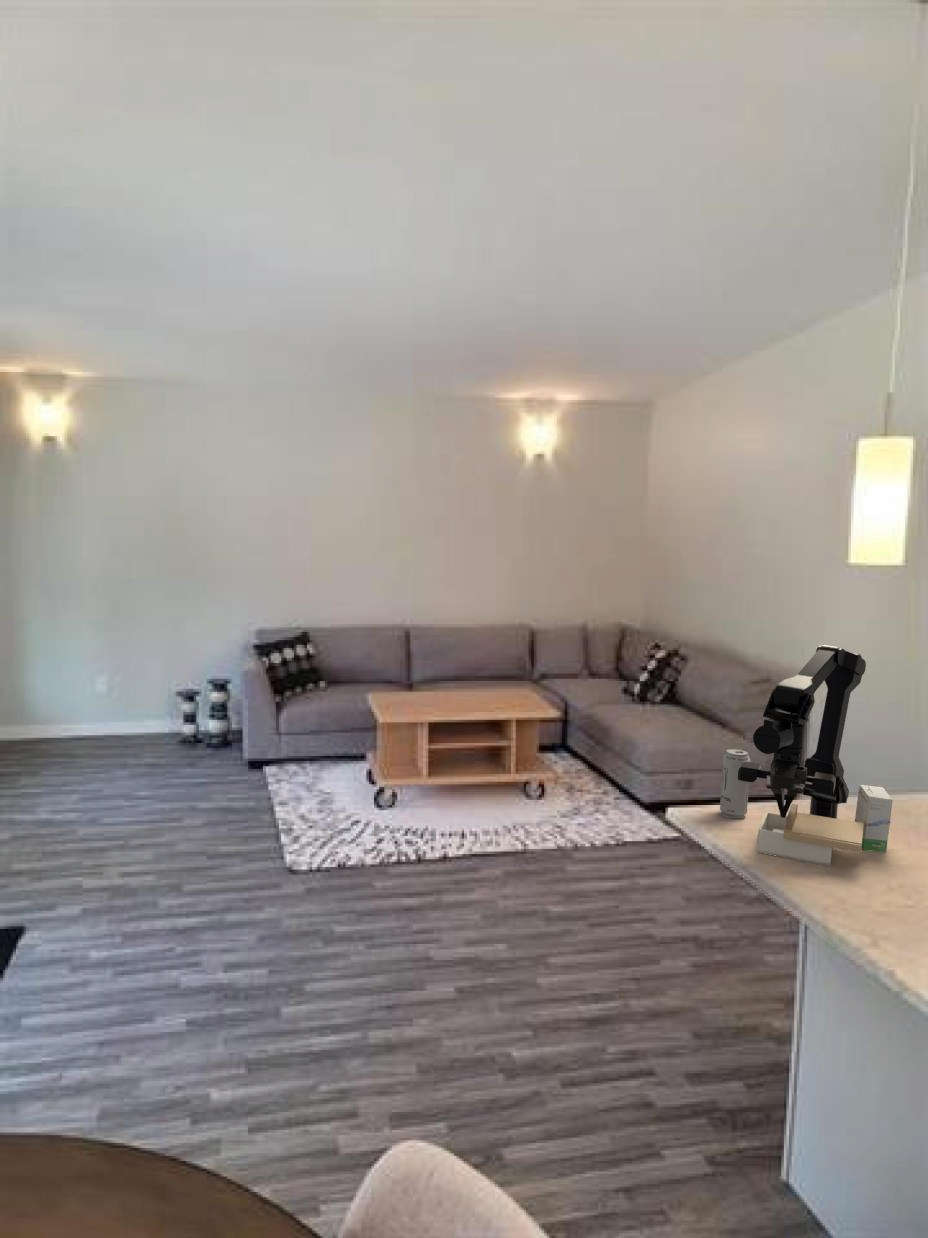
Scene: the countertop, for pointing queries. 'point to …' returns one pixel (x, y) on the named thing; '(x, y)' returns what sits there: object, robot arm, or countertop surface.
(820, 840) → the lid
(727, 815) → the energy drink can
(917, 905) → the countertop surface
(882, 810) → the ink box
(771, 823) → the mailer box
